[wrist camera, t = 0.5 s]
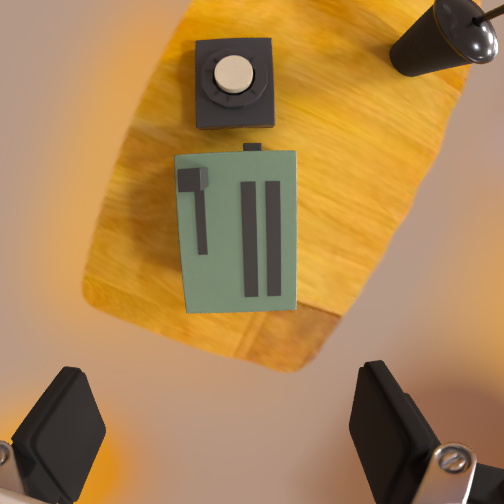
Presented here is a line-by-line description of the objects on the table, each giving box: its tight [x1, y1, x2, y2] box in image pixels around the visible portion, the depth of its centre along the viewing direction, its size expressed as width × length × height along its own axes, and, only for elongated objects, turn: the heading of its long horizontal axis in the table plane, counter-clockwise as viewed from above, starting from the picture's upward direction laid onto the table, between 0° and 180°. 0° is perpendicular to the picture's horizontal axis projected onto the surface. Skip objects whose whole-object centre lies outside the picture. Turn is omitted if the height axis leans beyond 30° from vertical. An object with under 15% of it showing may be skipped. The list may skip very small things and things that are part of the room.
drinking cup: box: [390, 0, 504, 77], centre depth 22 cm, size 8×8×20 cm
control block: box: [195, 38, 275, 130], centre depth 30 cm, size 10×8×4 cm
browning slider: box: [177, 167, 209, 192], centre depth 23 cm, size 2×2×5 cm
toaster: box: [174, 143, 297, 313], centre depth 31 cm, size 15×10×9 cm
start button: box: [214, 56, 253, 93], centre depth 28 cm, size 4×4×2 cm
